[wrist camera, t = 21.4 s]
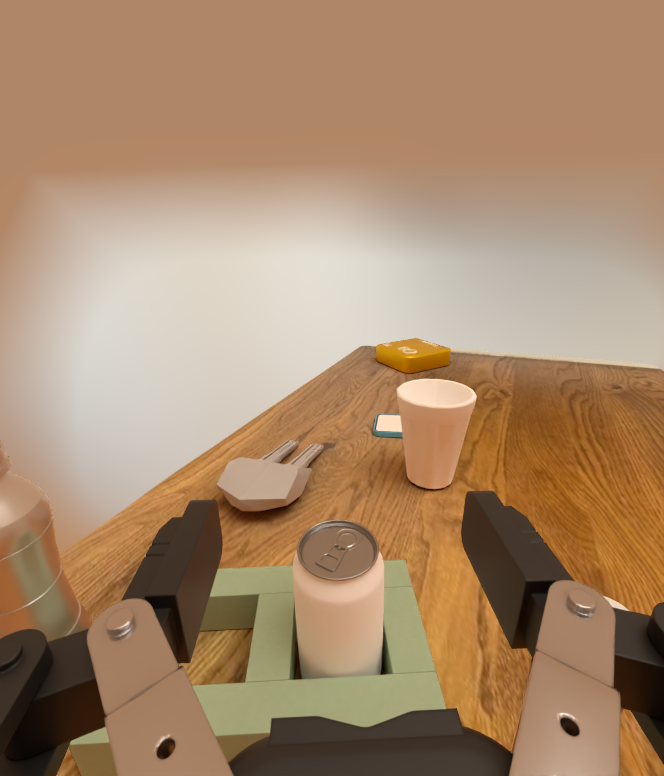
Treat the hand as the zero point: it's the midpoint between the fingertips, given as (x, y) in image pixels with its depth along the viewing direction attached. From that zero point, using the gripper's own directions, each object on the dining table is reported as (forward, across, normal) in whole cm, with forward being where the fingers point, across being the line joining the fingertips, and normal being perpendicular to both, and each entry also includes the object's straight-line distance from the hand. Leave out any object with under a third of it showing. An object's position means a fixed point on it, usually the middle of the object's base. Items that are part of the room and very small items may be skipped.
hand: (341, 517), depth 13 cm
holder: (+11, +5, +23) cm, 26 cm away
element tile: (+90, -24, +24) cm, 96 cm away
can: (+11, 0, +24) cm, 26 cm away
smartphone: (+51, -16, +24) cm, 58 cm away
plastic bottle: (+12, +23, +24) cm, 35 cm away
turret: (+37, +7, +24) cm, 44 cm away
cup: (+36, -14, +24) cm, 45 cm away
